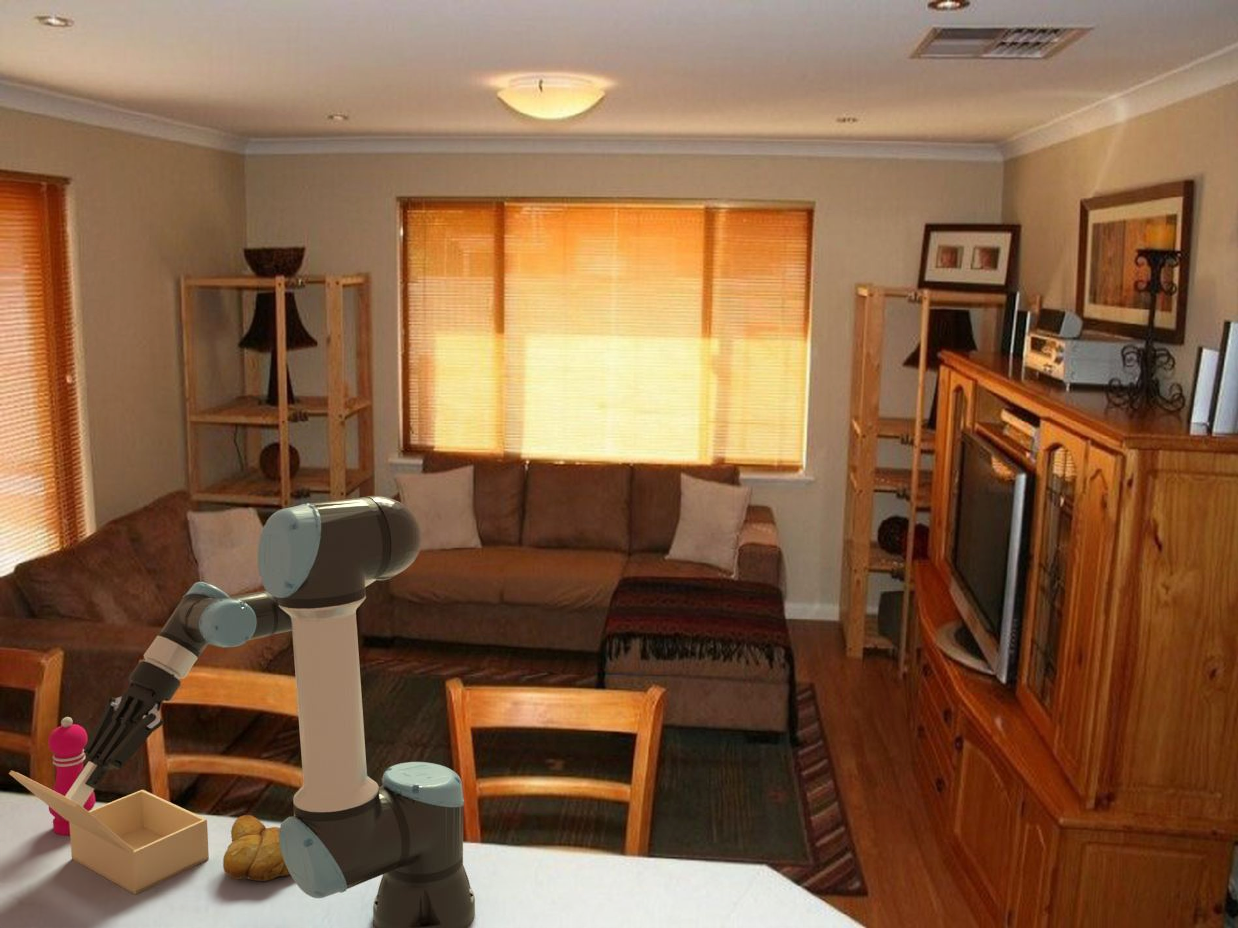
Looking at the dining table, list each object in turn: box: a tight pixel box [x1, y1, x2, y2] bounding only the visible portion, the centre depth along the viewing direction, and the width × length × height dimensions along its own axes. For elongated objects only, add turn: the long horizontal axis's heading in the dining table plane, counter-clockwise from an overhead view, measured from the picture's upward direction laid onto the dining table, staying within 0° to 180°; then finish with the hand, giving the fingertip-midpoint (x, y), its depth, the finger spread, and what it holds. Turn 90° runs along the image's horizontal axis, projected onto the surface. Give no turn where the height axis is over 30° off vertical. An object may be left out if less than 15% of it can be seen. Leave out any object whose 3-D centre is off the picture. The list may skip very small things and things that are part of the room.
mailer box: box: [69, 789, 210, 895], centre depth 177 cm, size 18×13×7 cm
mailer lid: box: [8, 770, 134, 854], centre depth 167 cm, size 19×14×1 cm
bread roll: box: [222, 814, 291, 882], centre depth 174 cm, size 13×10×8 cm
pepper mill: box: [47, 716, 96, 836], centre depth 186 cm, size 7×7×20 cm
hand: (71, 804), depth 168 cm, fingers closed
